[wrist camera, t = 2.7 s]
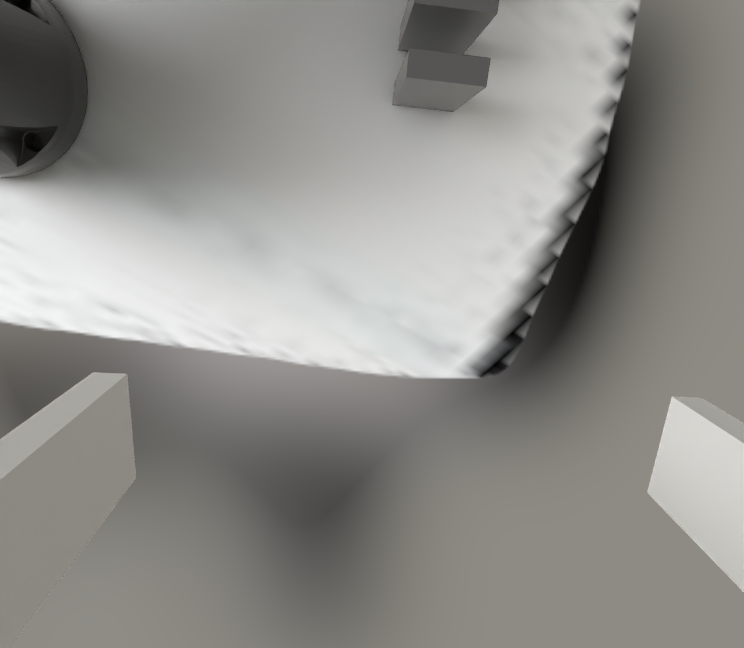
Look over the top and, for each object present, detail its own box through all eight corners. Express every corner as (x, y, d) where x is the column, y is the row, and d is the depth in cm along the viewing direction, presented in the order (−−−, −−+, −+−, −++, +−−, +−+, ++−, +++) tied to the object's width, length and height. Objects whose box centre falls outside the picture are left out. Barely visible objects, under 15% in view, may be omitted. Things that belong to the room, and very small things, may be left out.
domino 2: (392, 104, 39) (406, 77, 29) (394, 83, 38) (409, 48, 29) (452, 111, 39) (486, 86, 29) (455, 90, 39) (490, 58, 29)
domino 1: (398, 49, 38) (414, 2, 28) (400, 27, 37) (417, -29, 27) (460, 57, 38) (497, 13, 28) (463, 34, 37) (501, -18, 28)
